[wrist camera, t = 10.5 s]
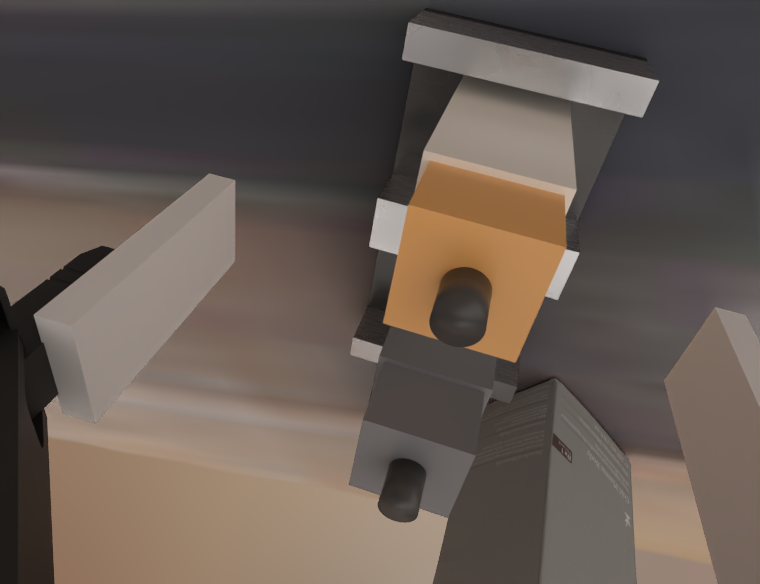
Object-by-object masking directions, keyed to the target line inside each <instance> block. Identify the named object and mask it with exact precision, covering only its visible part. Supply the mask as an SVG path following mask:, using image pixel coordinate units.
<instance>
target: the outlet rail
mask: <svg viewBox="0 0 760 584" xmlns="http://www.w3.org/2000/svg"><path fill="white" fill-rule="evenodd" d="M402 60H405V61H409V62H414V64H413V69H412V75H411V80H410V85H409V90H408V96H407V101H406V106H405V112H404V117H403V122H402V127H401V133H400V138H399V143H398V149H397V154H396V159H395V165H394V170H393V173H392V175H391V177H390V178H389V180H388V182H387V183H386V185H385V187H384V188H383V190H382V192H381V193H380V195H379V197H378V199H377V204H376V210H375V216H374V222H373V227H372V233H371V239H370V244H369V247H372V248H375V249H378V255H377V260H376V265H375V271H374V276H373V281H372V286H371V292H370V297H369V302H368V307H367V309H366V311H365V313H364V315H363V318H362V320H361V322H360V324H359V326H358V328H357V330H356V333H355V335H354V337H353V341H352V347H351V353H350V355H353V356H356V357H359V358H362V359H366V360H369V361H372V362H375V363H378V359H379V355H380V353H381V350H382V347H383V345H384V342H385V340H386V337H387V335H388V332H389V329H390V327H391V326H390V325H387V324H384V323H383V320H384V316H385V311H386V306H387V302H388V297H389V293H390V288H391V283H392V279H393V274H394V269H395V265H396V260H397V256H398V251H399V246H400V242H401V237H402V232H403V228H404V223H405V219H406V214H407V209H408V205H409V203H410V201H411V199H412V196H413V194H414V192H415V187H416V183H417V178H418V174H419V169H420V165H421V160H422V156H423V151H424V149H425V147H426V145H427V143H428V141H429V139H430V138H431V136H432V134H433V132H434V130H435V128H436V126H437V124H438V123H439V121H440V119H441V117H442V115H443V113H444V111H445V109H446V108H447V106H448V104H449V102H450V100H451V98H452V96H453V94H454V93H455V91H456V89H457V87H458V85H459V83H460V81H461V79H462V78H463V76H464V75H467V76H472V77H476V78H480V79H484V80H488V81H492V82H496V83H501V84H505V85H509V86H513V87H517V88H521V89H525V90H530V91H534V92H538V93H542V94H546V95H550V96H554V97H559V98H563V99H567V100H570V111H571V123H572V136H573V149H574V162H575V175H576V187H577V190H576V193H575V195H574V198H573V200H572V202H571V205H570V207H569V209H568V212H567V214H566V216H565V217H566V245H567V248H566V250H565V252H564V255H563V257H562V259H561V261H560V264H559V266H558V268H557V270H556V273H555V275H554V277H553V279H552V282H551V284H550V286H549V288H548V291H547V293H546V295H545V297H549V298H552V299H556V300H558V298H559V296H560V294H561V292H562V290H563V288H564V285H565V283H566V281H567V279H568V277H569V275H570V272H571V270H572V268H573V266H574V264H575V262H576V260H577V257H578V255H579V253H580V252H579V238H578V224H577V221H578V219H579V217H580V214H581V212H582V210H583V208H584V205H585V203H586V201H587V198H588V196H589V194H590V192H591V189H592V187H593V185H594V183H595V180H596V178H597V176H598V174H599V171H600V169H601V167H602V164H603V162H604V160H605V158H606V155H607V153H608V151H609V149H610V146H611V144H612V142H613V140H614V137H615V135H616V133H617V130H618V128H619V126H620V124H621V121H622V119H623V117H624V115H625V114H629V115H633V116H637V117H643V115H644V113H645V111H646V108H647V106H648V104H649V102H650V100H651V98H652V95H653V93H654V91H655V89H656V87H657V85H658V83H659V80H658V78H657V76H656V75H655V73H654V71H653V70H652V68H651V66H650V65H649V63H648V61H647V60H646V58H642V57H638V56H633V55H629V54H625V53H620V52H616V51H612V50H607V49H603V48H599V47H594V46H590V45H585V44H581V43H577V42H572V41H568V40H564V39H559V38H555V37H551V36H546V35H542V34H538V33H533V32H529V31H524V30H520V29H516V28H511V27H507V26H503V25H498V24H494V23H490V22H485V21H481V20H476V19H472V18H468V17H463V16H459V15H455V14H450V13H446V12H442V11H437V10H433V9H428V8H426V9H425V10H423V11H422V12H421V13H420V14H418V15H417V16H416V17H415V18H413V19H412V20H411V21H410V22H408V28H407V33H406V39H405V45H404V51H403V56H402ZM519 359H520V354H519V356H518V359H517V361H516V363H515V362H511V361H508V360H505V359H501V358H498V357H497V362H496V370H495V378H494V386H493V391H492V394H491V396H490V398H493V399H496V400H499V401H503V402H506V403H509V404H510V402H511V400H512V398H513V396H514V393H515V391H516V389H517V385H518V372H519Z"/></svg>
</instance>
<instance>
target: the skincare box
mask: <svg viewBox="0 0 760 584" xmlns="http://www.w3.org/2000/svg"><path fill="white" fill-rule="evenodd" d="M635 565H636V564H635V544H634V528H633V505H632V486H631V465H630V462H629V459H628V457H626V456H625V455H624V454H623V453H622V451H620V449H619V448H618V447H617V445H616V444H615V443H614V442H613V441H612V439H611V438H610V437H609V436H608V434H607V433H606V432H605V431H604V430H603V428H602V427H601V426H600V425H599V424H598V423H597V421H596V420H595V419H594V418H593V417H592V416H591V415H590V413H589V412H588V411H587V410H586V409H585V408H584V407H583V406H582V404H581V403H580V402H579V401H578V400H577V399H576V398H575V397H574V396H573V395H572V394H571V393H570V392H569V391H568V390H567V388H566V387H565V386H564V385H563V384H562V383H561V382H560V381H558V380H557V379H551V380H549V381H546V382H544V383H541V384H539V385H537V386H534V387H532V388H529V389H527V390H524V391H522V392H519V393H516V394H514V396H513V398H512V400H511V402H510V404H509V403H506V402H503V401H499V400H498V401H495V402H493V403H491V404H488V405H486V408H485V410H484V412H483V415H482V417H481V422H480V429H479V436H478V443H477V450H476V456H475V458H474V460H473V463H472V465H471V467H470V469H469V472H468V474H467V476H466V478H465V481H464V483H463V485H462V487H461V490H460V492H459V494H458V496H457V499H456V501H455V503H454V505H453V508H452V510H451V512H450V514H449V518H448V522H447V526H446V531H445V535H444V539H443V544H442V548H441V552H440V556H439V561H438V565H437V569H436V573H435V577H434V581H433V584H637V581H636V566H635Z"/></svg>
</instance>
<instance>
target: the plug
mask: <svg viewBox="0 0 760 584" xmlns="http://www.w3.org/2000/svg"><path fill="white" fill-rule="evenodd" d="M576 190H577V187H576V175H575V162H574V149H573V136H572V123H571V111H570V100H567V99H563V98H559V97H554V96H550V95H546V94H542V93H538V92H534V91H530V90H525V89H521V88H517V87H513V86H509V85H505V84H501V83H496V82H492V81H488V80H484V79H480V78H476V77H472V76H467V75H464V76H463V78H462V79H461V81H460V83H459V85H458V87H457V89H456V91H455V93H454V94H453V96H452V98H451V100H450V102H449V104H448V106H447V108H446V109H445V111H444V113H443V115H442V117H441V119H440V121H439V123H438V124H437V126H436V128H435V130H434V132H433V134H432V136H431V138H430V139H429V141H428V143H427V145H426V147H425V149H424V151H423V156H422V160H421V165H420V169H419V174H418V178H417V183H416V187H415V192H414V194H413V196H412V199H411V201H410V203H409V205H408V209H407V214H406V219H405V223H404V228H403V232H402V237H401V242H400V246H399V251H398V256H397V260H396V265H395V269H394V274H393V279H392V283H391V288H390V293H389V297H388V302H387V306H386V311H385V316H384V320H383V323H384V324H387V325H390V326H394V327H397V328H401V329H404V330H407V331H411V332H414V333H417V334H421V335H424V336H427V337H431V338H434V339H437V340H440V341H441V342H443V343H445V344H447V345H450V346H453V347H464V348H468V349H471V350H474V351H478V352H481V353H484V354H488V355H491V356H495V357H498V358H501V359H505V360H508V361H511V362H515V363H516V361H517V359H518V356H519V354H520V352H521V349H522V347H523V345H524V343H525V340H526V338H527V336H528V334H529V331H530V329H531V327H532V325H533V322H534V320H535V318H536V316H537V313H538V311H539V309H540V307H541V304H542V302H543V300H544V297H545V295H546V293H547V291H548V288H549V286H550V284H551V282H552V279H553V277H554V275H555V273H556V270H557V268H558V266H559V264H560V261H561V259H562V257H563V255H564V252H565V250H566V248H567V245H566V217H565V216H566V214H567V212H568V209H569V207H570V205H571V202H572V200H573V198H574V195H575V193H576Z"/></svg>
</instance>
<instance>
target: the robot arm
mask: <svg viewBox="0 0 760 584" xmlns="http://www.w3.org/2000/svg"><path fill="white" fill-rule="evenodd" d="M234 262H235V180H232V179H229V178H225V177H221V176H217V175H213V174H210V173H209V174H208V175H207V176H206V177H204V178H203V179H202V180H201V181H199V182H198V183H197V184H196V185H194V186H193V187H192V188H191V189H189V190H188V191H187V192H186V193H185V194H183V195H182V196H181V197H180V198H178V199H177V200H176V201H175V202H173V203H172V204H171V205H170V206H168V207H167V208H166V209H165V210H163V211H162V212H161V213H160V214H158V215H157V216H156V217H155V218H153V219H152V220H151V221H150V222H148V223H147V224H146V225H145V226H143V227H142V228H141V229H140V230H138V231H137V232H136V233H135V234H133V235H132V236H131V237H130V238H128V239H127V240H126V241H125V242H124V243H122V244H121V245H120V246H119V247H117V248H116V249H112V248H109V247H105V246H100V247H98V248H95V249H93V250H90V251H87V252H85V253H82V254H80V255H79V256H77V257H76V258H75V259H73V260H72V261H71V262H69V263H68V264H67V265H65V266H64V268H63V270H62V269H60V270H59V271H57V272H56V273H55V274H53V275H52V276H51V277H50V280H48V279H47V280H45V281H44V282H43V283H41V284H40V285H39V286H37V287H36V288H35V289H33V290H32V291H31V292H29V293H28V294H27V295H25V296H24V297H23V298H21V299H20V300H19V301H17V302H16V303H15V304H14V305H12V306H11V305H10V302H9V299H8V296H7V294H6V291H5V289H4V288H3V287H1V286H0V584H54V566H53V544H52V520H51V499H50V498H51V497H50V475H49V452H48V430H47V416H46V413H45V410H44V408H45V407H46V406H47V405H48V404H49V403H50V402H51V401H52V400H53V399H54V398H55V397H56V396H58V399H59V403H60V406H61V409H62V413H64V414H67V415H70V416H73V417H76V418H79V419H83V420H86V421H89V422H92V423H95V424H96V422H97V421H98V420H99V419H100V418H101V417H102V415H103V414H104V413H105V412H106V411H107V410H108V408H109V407H110V406H111V405H112V404H113V403H114V401H115V400H116V399H117V398H118V397H119V396H120V395H121V393H122V392H123V391H124V390H125V389H126V388H127V386H128V385H129V384H130V383H131V382H132V381H133V379H134V378H135V377H136V376H137V375H138V374H139V372H140V371H141V370H142V369H143V368H144V367H145V365H146V364H147V363H148V362H149V361H150V360H151V359H152V357H153V356H154V355H155V354H156V353H157V352H158V350H159V349H160V348H161V347H162V346H163V345H164V343H165V342H166V341H167V340H168V339H169V338H170V336H171V335H172V334H173V333H174V332H175V331H176V329H177V328H178V327H179V326H180V325H181V324H182V323H183V321H184V320H185V319H186V318H187V317H188V316H189V314H190V313H191V312H192V311H193V310H194V309H195V307H196V306H197V305H198V304H199V303H200V302H201V300H202V299H203V298H204V297H205V296H206V295H207V293H208V292H209V291H210V290H211V289H212V288H213V287H214V285H215V284H216V283H217V282H218V281H219V280H220V278H221V277H222V276H223V275H224V274H225V273H226V271H227V270H228V269H229V268H230V267H231V266H232V264H233V263H234ZM664 383H665V387H666V391H667V394H668V398H669V402H670V406H671V409H672V413H673V417H674V421H675V424H676V428H677V432H678V436H679V440H680V443H681V447H682V451H683V455H684V458H685V462H686V466H687V470H688V473H689V477H690V481H691V485H692V488H693V492H694V496H695V500H696V503H697V507H698V511H699V515H700V518H701V522H702V526H703V530H704V534H705V537H706V541H707V545H708V549H709V552H710V556H711V560H712V564H713V567H714V571H715V574H716V579H717V582H718V584H760V342H759V340H758V338H757V336H756V334H755V332H754V330H753V329H752V327H751V325H750V323H749V321H748V319H747V317H746V315H743V314H739V313H735V312H731V311H728V310H724V309H720V308H716V307H715V308H714V310H713V311H712V312H711V314H710V315H709V317H708V318H707V320H706V321H705V323H704V324H703V325H702V327H701V328H700V330H699V331H698V333H697V334H696V336H695V337H694V338H693V340H692V341H691V343H690V344H689V346H688V347H687V349H686V350H685V351H684V353H683V354H682V356H681V357H680V359H679V360H678V362H677V363H676V364H675V366H674V367H673V369H672V370H671V372H670V373H669V375H668V376H667V377H666V379H665V380H664Z"/></svg>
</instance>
